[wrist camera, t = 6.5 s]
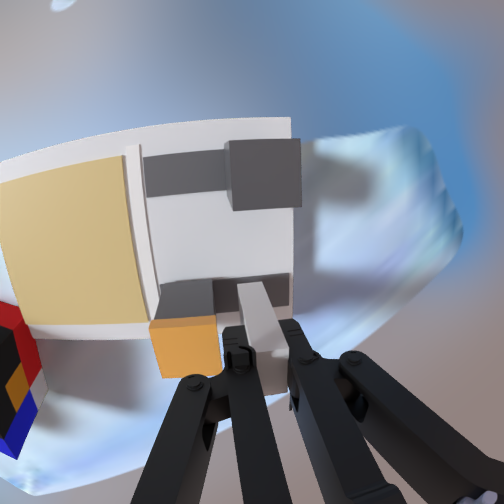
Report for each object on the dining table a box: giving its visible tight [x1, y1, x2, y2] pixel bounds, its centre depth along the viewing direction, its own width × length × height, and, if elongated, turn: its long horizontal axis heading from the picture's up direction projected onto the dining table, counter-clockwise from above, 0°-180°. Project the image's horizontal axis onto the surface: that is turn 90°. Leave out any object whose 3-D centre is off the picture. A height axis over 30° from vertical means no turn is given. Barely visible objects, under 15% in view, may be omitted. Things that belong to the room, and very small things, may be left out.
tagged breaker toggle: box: [148, 279, 223, 378], centre depth 16 cm, size 3×3×5 cm
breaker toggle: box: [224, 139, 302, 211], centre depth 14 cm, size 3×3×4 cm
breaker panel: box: [0, 117, 293, 340], centre depth 18 cm, size 14×21×2 cm, turn 93°
